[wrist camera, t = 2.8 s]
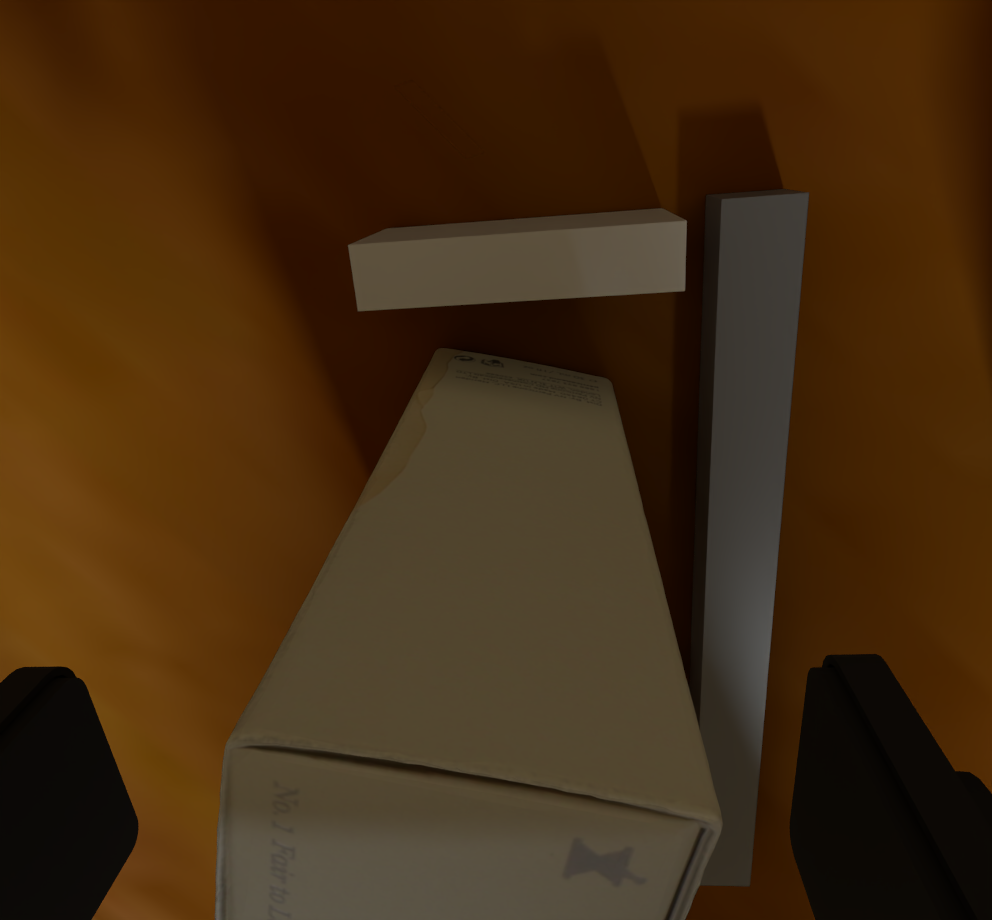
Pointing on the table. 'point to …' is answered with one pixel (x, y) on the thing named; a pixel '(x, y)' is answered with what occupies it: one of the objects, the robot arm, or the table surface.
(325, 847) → the skincare box
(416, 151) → the table surface
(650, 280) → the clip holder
